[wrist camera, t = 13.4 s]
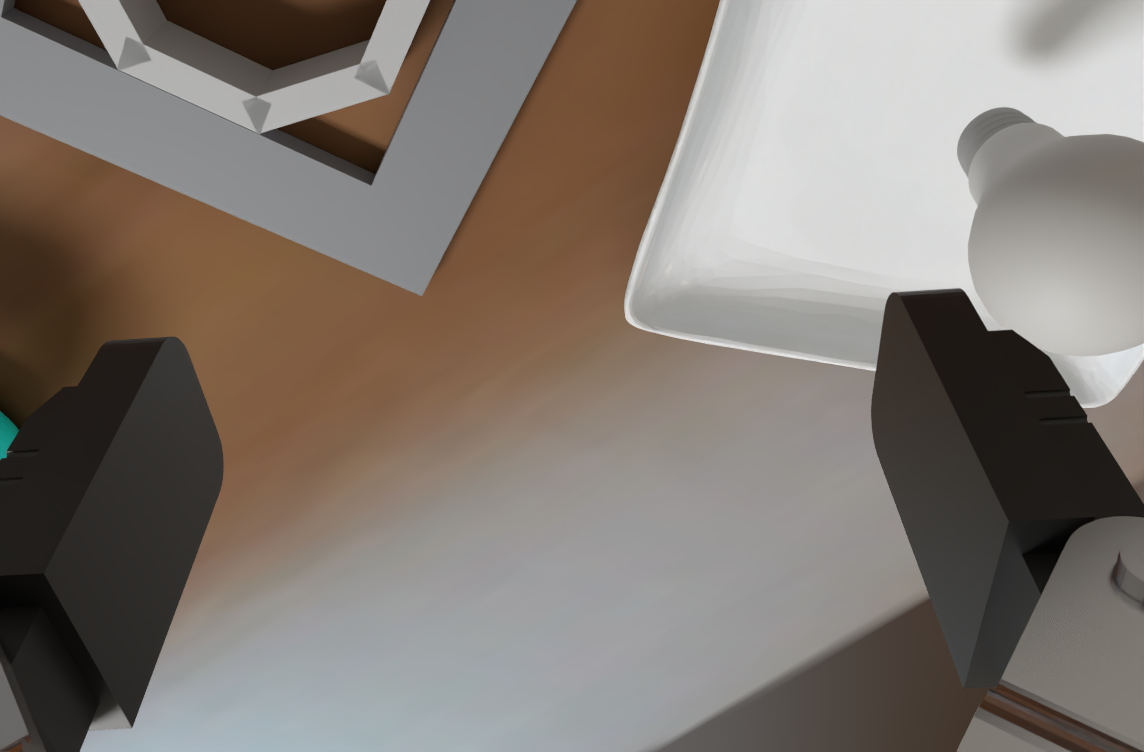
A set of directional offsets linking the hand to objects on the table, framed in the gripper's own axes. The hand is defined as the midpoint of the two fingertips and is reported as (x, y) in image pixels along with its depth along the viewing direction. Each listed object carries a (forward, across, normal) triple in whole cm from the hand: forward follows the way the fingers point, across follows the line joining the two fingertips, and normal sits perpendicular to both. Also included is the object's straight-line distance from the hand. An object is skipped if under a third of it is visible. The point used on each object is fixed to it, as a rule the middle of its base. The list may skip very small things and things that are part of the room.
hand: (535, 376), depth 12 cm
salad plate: (+27, -14, +9) cm, 32 cm away
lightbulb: (+23, -14, +8) cm, 29 cm away
